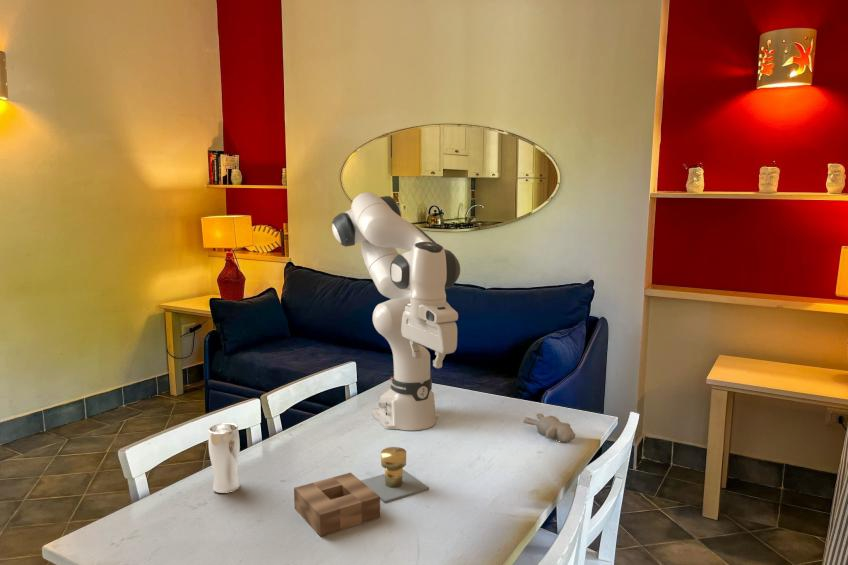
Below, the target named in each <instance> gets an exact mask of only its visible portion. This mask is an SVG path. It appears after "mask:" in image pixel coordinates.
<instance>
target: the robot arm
mask: <svg viewBox="0 0 848 565" xmlns="http://www.w3.org/2000/svg"><path fill="white" fill-rule="evenodd" d="M331 225H332V226H331V231H332V234H333V236H334V238H335V239H336V241H337V242H339V244H340V245H341V246H343V247H346V248H347V247H352V246H356V244H359V243H361V245H360V251H361V256H362V259H363V262H364V265H365V267H366V270H367V271H368V274H369V276H370V278H371V279H372V281H373V283H374V285H375V287H376V289H377V291H378V292H379V293H380V294H381V296H384V297H385V298H388V300H386V301H383V302H380V303H378V304H377V305H376V306H375V308H374V310H373V312H372V324H373V326H374V328H375V330H376V331H377V333H378V334H380V335H381V336H382V337H383V338H384V339H385V340H386V341H387V342H388V344H389V346H390V349H391V352H392V359H393V360H392V361H393V376H390V377H389V378H390V379H389V380H390V381H391V383H390V388H388V389H387V390H386V391H385V392H383V393H382V394H381V395H380V397H379V402H378V407H376V408H374V409H373V410H371V415H372V416H373V417H375V419H376V420H377V421H378V422H379V423H380V424H381V425H382V426H383V428H384V429H386V430H387V429H388V430H402V431H422V430H426V429H429V428H431V427H433V426H435V425H436V421H437V419H438V418H439V413H437V412H436V403H435V402H436V401H435V394H434V393H435V392H434V391H432V388H433V387H432V386H433V380H432V379H433V378H432V376H431V354H430V352H429V350H432V351H434V355H435V356H436V357H435V359H433V360H432V367H433V368H435V369H441V368H442V367H443V360H444V359H445V357H446V355H449V354H454V353H455V352H456V351H457V347H458V326H457V323H456V321H458V319H459V313H458V311H456V310H455V309H454V308H453V307H451V305H450V304H449V302H448V301H447V294H446V289H451V287H453V286H454V284H456V283H457V280H458V279H459V277H460V275H461V265H460V262H459V259H458V258H457V257H456V256H455V254H454V253H453V252H452V251H450V250H448V249H445V248H444V247H443V246H442V245H440V244H439V243H437V242H436V241H435V240H433V238H431V236H429V234H427V233H426V232H424V230H422V229H421V228H420V227H418V225H417V226H416V224H413V223H412V222H411V221H410V222H409V221H408V220H407V219H405V218H403V217H402V210H401V208H400V205H399V204H398V202H397V201H396V200H395V199H394V198H393V197H392V196H390V195H384V196H378V195H377V194H376V193H374V192H370V191H369V192H368V191H367V192H362V193H360V194H357V195H356V197H354V199H353V200H352V202H351V206H350V209H348V210H346V211H344V212H340V213H338V214H337V215H336V216H334V218H333V220H332V222H331ZM397 249H402V250H407V251H405V252H403V253H399V252H398V250H397ZM428 349H429V350H428Z"/></svg>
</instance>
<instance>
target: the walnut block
mask: <svg viewBox="0 0 848 565" xmlns="http://www.w3.org/2000/svg"><path fill="white" fill-rule="evenodd" d="M293 495H294V496H293V497H294V498H293V500H294V501H293V504H294V509H295V511H297V512H298V513H299V515H300V516H301V517H302V519H304V521H306V523H308V525H309V526H310V527H311V528H312V529H313V530H314V531H315V533H316V534H317V535H318V536H319V538H321V537H324V536H327V535H330V534H333V533H336V532H340V531H343V530H346V529H349V528H352V527H355V526H359V525H362V524H364V523H368V522H370V521H373V520H376V519H380V518H381V499H380V496H379V495H377V494H376V493H375V492H374V491H373V490H371V489H370V488H369V487H368V486H366V485H365V484H364V483H363V482H362V481H361V480H360V479H359V478H358V477H357V476H356V475H354V474H353V473H352V472H348V473H343V474H341V475H340V474H339V475H336V476H333V477H328V478H326V479H322V480H319V481H318V480H317V481H314V482H311V483H307V484H303V485H299V486H295V487H294V488H293Z"/></svg>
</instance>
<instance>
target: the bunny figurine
mask: <svg viewBox="0 0 848 565" xmlns="http://www.w3.org/2000/svg"><path fill="white" fill-rule="evenodd" d="M536 418H537V419H539V420H537V419H535V418H534V419H533V418H532V417H524V419H523V421H522V422H523V423H524V424H525V425H527V424H528V425H531V426H536V429H537V432H538V434H540V435H541V436H542V437H545V436H546V437H545V439H548V440H549V439H554V440H555V441H556V440H557V441H560V442H561V443H563V442H565V443H567V442H570V441H572V440H575V438H576V433H575V432H574V430H573V428H572V427H571V424H570V423H568V422H562V421H560V419H559V418H557V417H556V416H554V415H547V416H544V414H543V413H540V412H539V413H536ZM557 441H556V442H557ZM560 442H559V443H560Z"/></svg>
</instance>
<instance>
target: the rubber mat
mask: <svg viewBox="0 0 848 565" xmlns="http://www.w3.org/2000/svg"><path fill="white" fill-rule="evenodd" d="M360 481H362V482H363V483H364V484H365V485H366V486H368V487H369V488H370V489H371V490H373V491H374V492H375V493H376V494H377V495H379V496H380V501H382V502H383V503H384V504H386V503H389V502H392V501H396V500H399V499H402V498H404V497H405V498H406V497H409V496H411V495H412V496H413V495H415V494H417V493H422V492H424V491H427V490H429V488H430V487H429V486H427V485H426V484H425V483H423V482H422V481H421V480H419V479H418V478H416V477H414V476H413V475H412V474H410V473H409V472H408V471H406V470H405V469H403V484H402V486H400V487H397V488H390V487H387V486H386V485H385V473H383V474H380V475H375V476H372V477H369V478H366V479H361V480H360Z"/></svg>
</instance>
